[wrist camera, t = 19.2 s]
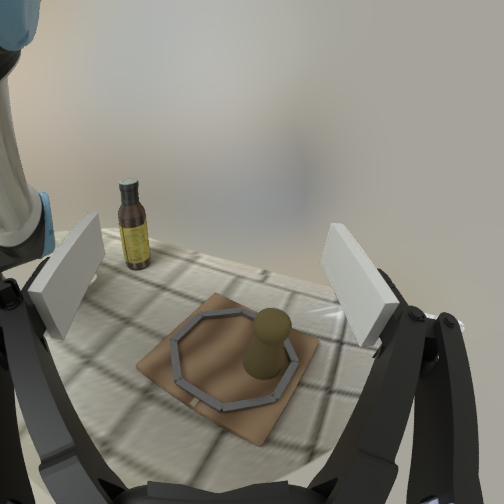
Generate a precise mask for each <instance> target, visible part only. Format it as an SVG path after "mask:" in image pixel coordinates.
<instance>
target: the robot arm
mask: <svg viewBox="0 0 504 504" xmlns="http://www.w3.org/2000/svg"><path fill="white" fill-rule="evenodd" d="M40 2H41V0H0V504H35V499H34V495H33V492H32V488H31V485H30V481H29V478H28V474H27V470H26V466H25V462H24V458H23V453H22V448H21V443H20V437H19V431H18V424H17V416H16V407H15V394H14V388H15V392H16V395H17V399H18V402H19V405H20V408H21V411H22V414H23V417H24V420H25V423H26V426H27V428H28V431H29V434H30V436H31V439H32V441H33V443H34V446H35V448H36V450H37V453H38V455H39V457H40V460H41V464H40V465H39V472H40V475H41V477H42V479H43V481H44V483H45V485H46V487H47V489H48V491H49V492H50V494H51V496H52V498H53V499H54V501H55V503H56V504H385V502H386V500H387V498H388V496H389V493H390V491H391V489H392V487H393V484H394V482H395V479H396V476H397V474H398V466H397V465H396V464H395V457H396V454H397V452H398V449H399V446H400V443H401V440H402V437H403V434H404V431H405V427H406V425H407V421H408V418H409V414H410V411H411V407H412V403H413V399H414V395H415V407H414V434H413V447H412V458H411V467H410V475H409V481H408V489H407V501H406V503H407V504H484V503H483V497H482V491H481V486H480V481H479V476H478V472H479V470H478V469H479V441H478V424H477V413H476V405H475V396H474V390H473V383H472V378H471V372H470V367H469V362H468V357H467V353H466V348H465V344H464V341H463V336H462V333H461V329H460V325H459V323H458V321H457V320H456V318H455V317H454V316H452V315H451V314H449V313H445V312H443V313H441V314H440V315H439V316H438V318H437V319H436V320H435V319H430V318H427V317H426V316H425V314H424V313H423V312H422V311H421V310H420V309H419V308H417V307H414V306H408V304H407V303H406V301H405V300H404V298H403V297H402V295H401V294H400V292H399V291H398V289H397V288H396V287H395V285H394V284H393V283H392V281H391V279H390V278H389V277H388V275H387V274H386V273H384V272H383V271H382V270H381V269H376V267H375V266H374V265H373V263H372V262H371V260H370V259H369V258H368V256H367V255H366V254H365V252H364V251H363V249H362V248H361V247H360V245H359V244H358V243H357V242H356V240H355V239H354V238H353V236H352V235H351V234H350V232H349V231H348V230H347V228H346V227H345V226H344V225H343V224H338V223H331V226H330V230H329V233H328V237H327V240H326V244H325V247H324V251H323V254H322V257H321V261H320V263H321V265H322V267H323V269H324V271H325V273H326V275H327V277H328V279H329V281H330V283H331V285H332V288H333V290H334V292H335V294H336V296H337V298H338V300H339V302H340V304H341V306H342V308H343V311H344V313H345V315H346V317H347V319H348V321H349V324H350V326H351V328H352V330H353V332H354V335H355V337H356V339H357V341H358V343H359V346H360V347H366V346H373V345H374V344H375V343H376V341H377V339H378V338H379V337H380V339H381V341H382V344H381V346H380V347H379V349H378V350H377V352H376V353H375V354H374V356H373V357H372V358H375V357H376V358H375V360H374V363H373V366H372V368H371V371H370V374H369V376H368V379H367V381H366V384H365V386H364V388H363V391H362V393H361V395H360V398H359V400H358V402H357V404H356V407H355V409H354V411H353V413H352V415H351V417H350V419H349V421H348V423H347V425H346V427H345V429H344V431H343V433H342V435H341V437H340V439H339V441H338V443H337V445H336V447H335V448H334V450H333V452H332V454H331V456H330V457H329V459H328V461H327V463H326V464H325V466H324V467H323V468H322V470H321V471H320V472H319V473H318V474H317V475H316V476H315V477H314V479H313V480H312V481H311V483H310V484H309V486H308V487H307V488H304V487H301V486H296V485H289V484H288V481H280V482H272V483H262V484H253V485H250V486H246V487H243V488H239V489H235V490H232V491H228V492H223V493H213V492H208V491H204V490H200V489H196V488H192V487H189V486H185V485H181V484H170V483H160V482H152V481H148V482H147V485H143V486H138V487H134V488H131V489H128V488H127V487H126V486H125V484H124V483H123V482H122V481H121V479H120V478H119V477H118V476H117V475H116V474H115V473H114V472H113V471H112V470H111V469H110V468H109V467H108V465H107V464H106V462H105V461H104V459H103V458H102V456H101V455H100V453H99V452H98V450H97V449H96V447H95V445H94V444H93V442H92V440H91V439H90V437H89V435H88V434H87V432H86V430H85V428H84V426H83V425H82V423H81V421H80V419H79V417H78V415H77V413H76V411H75V409H74V407H73V405H72V403H71V401H70V399H69V397H68V395H67V393H66V390H65V388H64V386H63V384H62V381H61V379H60V376H59V374H58V371H57V369H56V366H55V364H54V361H53V358H52V356H51V353H50V350H49V347H48V344H47V341H46V339H45V337H44V336H43V335H44V332H45V330H46V329H47V331H48V333H49V335H50V336H51V338H56V339H61V340H64V339H65V337H66V334H67V332H68V330H69V327H70V325H71V323H72V320H73V318H74V316H75V314H76V311H77V309H78V307H79V305H80V303H81V301H82V298H83V296H84V294H85V292H86V290H87V288H88V286H89V284H90V282H91V280H92V278H93V276H94V274H95V272H96V271H97V269H98V267H99V265H100V263H101V261H102V259H103V258H104V256H105V250H104V245H103V239H102V234H101V228H100V222H99V215H98V213H86V214H85V215H84V216H83V218H82V219H81V220H80V221H79V222H78V223H77V224H76V226H75V227H74V228H73V229H72V230H71V232H70V233H69V234H68V235H67V237H66V238H65V239H64V240H63V242H62V243H61V244H60V245H59V247H58V248H57V249H56V251H55V252H54V253H53V255H52V256H51V257H47V258H46V259H45V260H43V261H42V262H41V263H40V264H39V265H38V267H37V268H36V271H34V272H33V274H32V277H30V278H29V280H28V281H27V282H26V284H25V285H24V287H23V289H22V290H21V291H20V289H19V286H18V284H17V282H16V280H15V279H13V278H8V279H6V278H5V277H4V276H3V274H2V272H3V271H5V270H8V269H11V268H13V267H16V266H19V265H22V264H24V263H27V262H30V261H33V260H36V259H42V258H43V257H44V256H46V255H49V254H51V253H52V252H53V251H54V249H55V236H54V230H53V222H52V215H51V208H50V202H49V197H48V195H47V193H46V192H43V193H41V192H39V193H38V192H37V191H36V189H34V188H33V187H32V186H31V185H29V184H27V182H26V179H25V175H24V172H23V168H22V165H21V160H20V156H19V152H18V148H17V143H16V138H15V133H14V128H13V122H12V115H11V109H10V100H9V90H8V75H9V74H10V73H11V72H12V70H13V69H14V68H15V66H16V65H17V63H18V61H19V59H20V56H21V49H22V48H23V47H24V46H27V45H28V44H29V43H30V42H31V41H32V40H33V38H34V36H35V33H36V29H37V24H38V19H39V9H40ZM438 356H439V359H438Z"/></svg>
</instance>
